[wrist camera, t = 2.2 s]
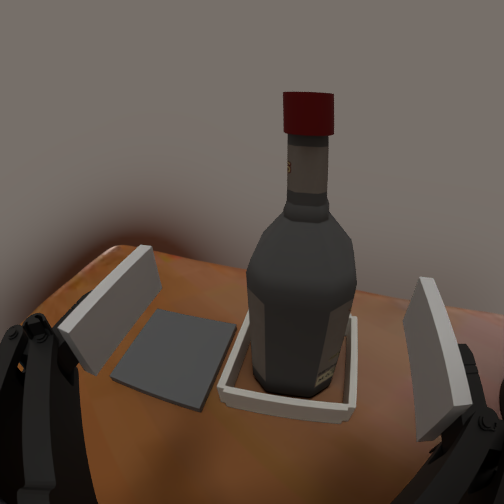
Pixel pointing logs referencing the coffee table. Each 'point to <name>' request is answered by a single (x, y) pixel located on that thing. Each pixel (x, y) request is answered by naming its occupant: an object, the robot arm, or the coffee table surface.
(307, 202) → the liquor
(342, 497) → the coffee table surface
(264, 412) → the bottle holder
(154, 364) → the slate coaster
